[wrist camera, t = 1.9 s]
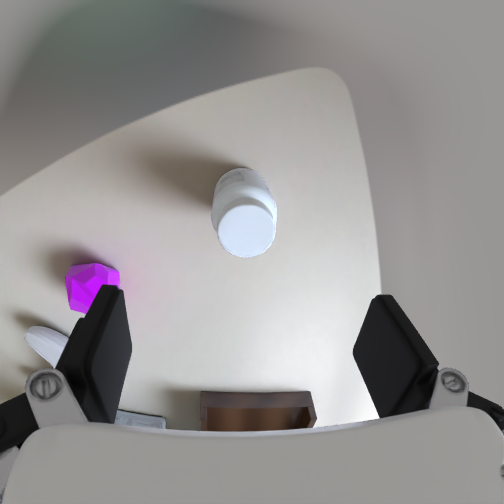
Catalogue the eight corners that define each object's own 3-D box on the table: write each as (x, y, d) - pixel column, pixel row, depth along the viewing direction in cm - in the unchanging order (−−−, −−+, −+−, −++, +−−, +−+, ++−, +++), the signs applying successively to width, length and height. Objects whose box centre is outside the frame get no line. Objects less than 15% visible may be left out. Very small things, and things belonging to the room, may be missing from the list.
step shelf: (311, 391, 38) (329, 463, 28) (288, 446, 45) (298, 502, 36) (199, 391, 36) (196, 468, 27) (201, 447, 44) (200, 505, 34)
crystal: (112, 249, 27) (95, 276, 23) (134, 297, 29) (122, 328, 25) (69, 261, 27) (49, 287, 23) (91, 305, 30) (77, 334, 25)
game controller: (17, 327, 27) (88, 376, 27) (39, 307, 31) (107, 351, 31) (25, 393, 32) (82, 432, 33) (40, 375, 36) (95, 410, 37)
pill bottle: (206, 208, 26) (198, 252, 19) (226, 159, 24) (225, 185, 17) (255, 226, 27) (265, 274, 20) (277, 179, 25) (296, 213, 18)
